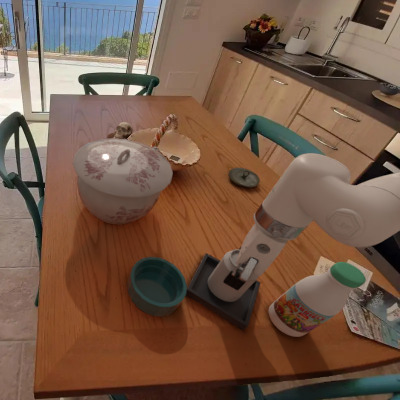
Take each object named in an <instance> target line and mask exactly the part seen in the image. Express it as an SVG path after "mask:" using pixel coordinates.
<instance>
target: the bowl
mask: <svg viewBox="0 0 400 400" xmlns="http://www.w3.org/2000/svg"><path fill="white" fill-rule="evenodd" d="M187 287H188V285H187V282H186V279H185V276H184V275H183V273H182V271H181V270H180V269H179V268H178V267H177V266H176V265H175V264H174V263H172V262H171V261H169V260H167V259H165V258H161V257H158V256H148V257H143V258H140V259H138V260H137V261H136V262H135V263H134V264H133V266H132V267H131V270H130V273H129V276H128V278H127V283H126V289H127V294H128V296H129V298H130V300H131V302H132V303H133V304H134V306H135V307H137V308H138V309H139V310H140V311H142V312H143V313H145V314H147V315H150V316H153V317H167V316H169V315H172V314H173V313H174V312H176V311H177V310H178V309H179V307H180V305H181V304H182V303H183V301H184V299H185V298H186V296H187V295H186V292H187Z"/></svg>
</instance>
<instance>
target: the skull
mask: <svg viewBox="0 0 400 400" xmlns="http://www.w3.org/2000/svg"><path fill="white" fill-rule="evenodd" d="M133 130H134V127H133V126H132V125H131V124H130V123H129V122H127V121H122V122H120V123H119V124H118V125H116V127H115V130H114V132H110V133H108V135H107V138H106V139H110V138H118V139H127V138H128V137H129V136H130V135H131V134H132V135H133V133H134V131H133ZM132 135H131V136H132Z"/></svg>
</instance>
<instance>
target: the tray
mask: <svg viewBox="0 0 400 400" xmlns="http://www.w3.org/2000/svg"><path fill="white" fill-rule="evenodd" d="M220 261H221V260H220V259H218V258H216V257H214V256H212V255H211V254H209V253H207V252H205V254H204V255H203V256H202V258H201V260H200V262H199V264H198V266H197V267H196V269H195V272H194V274H193V276H192V278H191V280H190V281H189V284H188V285H187V292H186V295H185V296H187V297H188V298H191V299H192V300H194V301H195V302H196V303H198V304H200V305H202V306H203V307H205V308H206V309H208V310H210V311H211V312H213V313H215V314H216V315H217V316H219V317H221V318H222V319H224V320H225V321H227V322H229V323H230V324H232V325H233V326H235V327H237V328H238V329H240V330H241V331H245V330H246V329H247V328H248V327H249V325H250V321H251V317H252V313H253V310H254V308H255V304H256V301H257V298H258V297H257V296H258V293H259V290H260V286H261V283H262V282H261V281H259V280H258V279H257V280H256V281H255V282H254V283H253V284H252V285H251V286H250V287H249V288H248V289H247V290H246V291H245V292H244V293H243V295H242V296H241V297H240V298H239V299H238V300H236V301H233V302H228V301H224V300H221V299H219V298H218V297H216V296H215V295H214V294H213V293H212V292H211V290H210V289H209V287H208V278H209V277H210V275H211V274H212V272H213V271H214V269H215V268H216V267H217V265H218V264H219V262H220Z"/></svg>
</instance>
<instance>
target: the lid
mask: <svg viewBox="0 0 400 400" xmlns="http://www.w3.org/2000/svg"><path fill="white" fill-rule="evenodd" d="M228 177H229V179H230V181H231V182H233V184H235V185H237V186H239V187H243V188H255V187H257V186H258V185H259V184H260V181H261V179H260V176H259V175H258V174H257V173H256V172H254V171H252V170H251V169H248V168H244V167H232V168H231V169H229V171H228Z"/></svg>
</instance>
